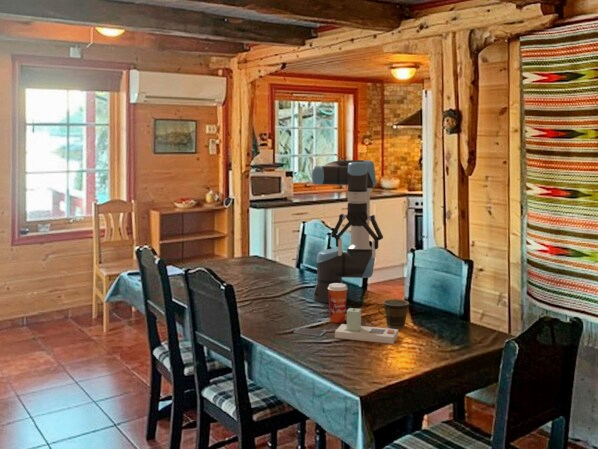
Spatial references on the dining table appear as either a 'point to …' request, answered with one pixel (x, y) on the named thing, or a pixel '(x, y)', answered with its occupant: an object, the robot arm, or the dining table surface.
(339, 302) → the coffee cup
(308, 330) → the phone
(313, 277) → the dining table surface
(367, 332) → the power strip
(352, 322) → the block
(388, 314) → the ceramic cup
